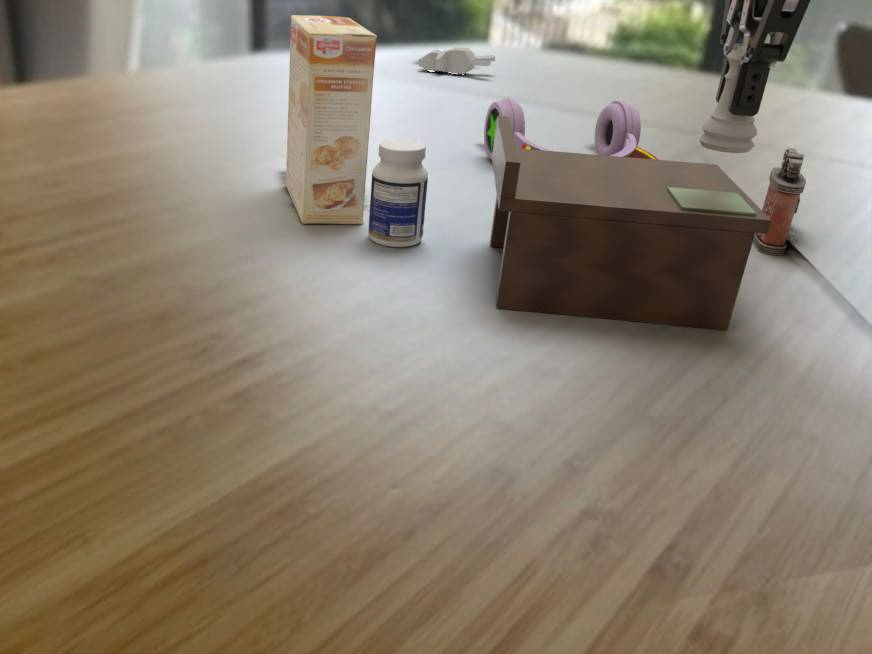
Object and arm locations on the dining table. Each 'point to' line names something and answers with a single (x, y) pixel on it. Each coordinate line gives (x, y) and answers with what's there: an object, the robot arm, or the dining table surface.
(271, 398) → the dining table surface
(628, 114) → the headphones
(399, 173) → the pill bottle
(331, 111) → the coffeecake box
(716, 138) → the rook chess piece
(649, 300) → the brown wooden desk
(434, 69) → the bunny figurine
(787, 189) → the lighter
